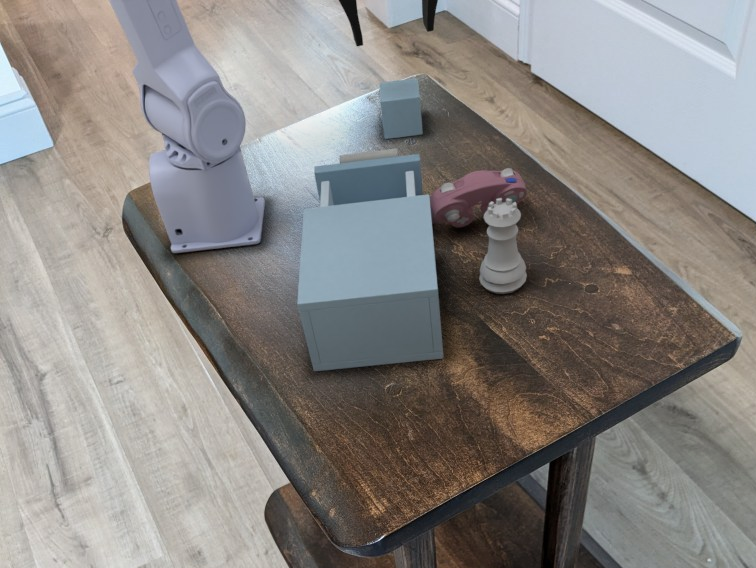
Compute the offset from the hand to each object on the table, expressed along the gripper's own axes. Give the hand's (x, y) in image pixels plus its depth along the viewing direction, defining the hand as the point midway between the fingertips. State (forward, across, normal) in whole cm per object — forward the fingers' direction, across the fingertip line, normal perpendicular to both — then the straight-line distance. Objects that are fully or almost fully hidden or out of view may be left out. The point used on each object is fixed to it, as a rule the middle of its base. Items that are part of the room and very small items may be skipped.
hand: (393, 34), depth 92 cm
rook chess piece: (+10, +4, -31) cm, 33 cm away
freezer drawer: (+9, -7, -21) cm, 24 cm away
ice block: (+10, 0, 0) cm, 10 cm away
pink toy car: (+10, +4, -21) cm, 23 cm away
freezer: (+10, -9, -32) cm, 35 cm away
